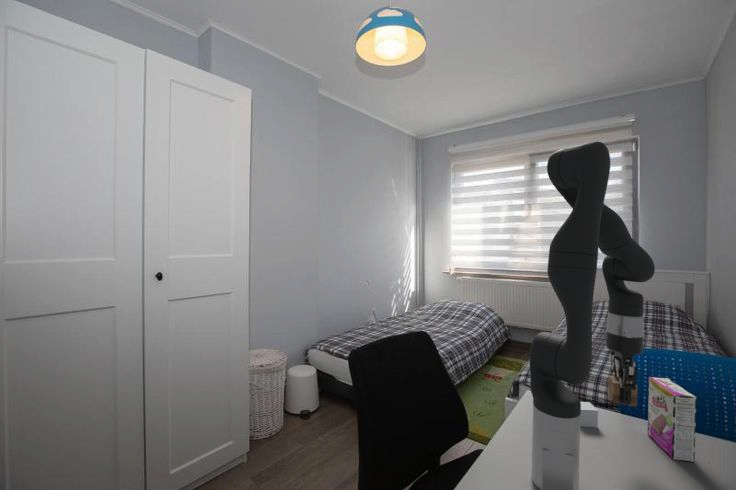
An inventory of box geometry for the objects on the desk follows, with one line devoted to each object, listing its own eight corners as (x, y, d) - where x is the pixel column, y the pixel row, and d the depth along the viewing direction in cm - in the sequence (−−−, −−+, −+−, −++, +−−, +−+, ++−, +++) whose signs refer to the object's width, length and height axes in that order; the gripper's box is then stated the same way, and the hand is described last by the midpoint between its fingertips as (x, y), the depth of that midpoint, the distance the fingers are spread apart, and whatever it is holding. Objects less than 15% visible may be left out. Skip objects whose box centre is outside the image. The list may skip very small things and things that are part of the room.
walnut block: (636, 406, 86) (637, 386, 86) (612, 402, 88) (613, 382, 88) (630, 398, 90) (631, 378, 90) (607, 394, 92) (608, 375, 92)
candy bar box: (645, 434, 97) (647, 376, 96) (666, 436, 96) (668, 377, 95) (672, 460, 86) (674, 394, 85) (695, 463, 85) (698, 396, 84)
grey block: (597, 427, 100) (598, 410, 100) (579, 426, 101) (579, 409, 101) (589, 418, 105) (589, 402, 105) (571, 417, 106) (571, 401, 106)
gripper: (600, 323, 97) (598, 385, 97) (614, 337, 83) (611, 407, 84) (633, 327, 94) (630, 390, 94) (653, 341, 81) (650, 414, 81)
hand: (621, 398), depth 89 cm, fingers closed on walnut block, 5 cm apart
